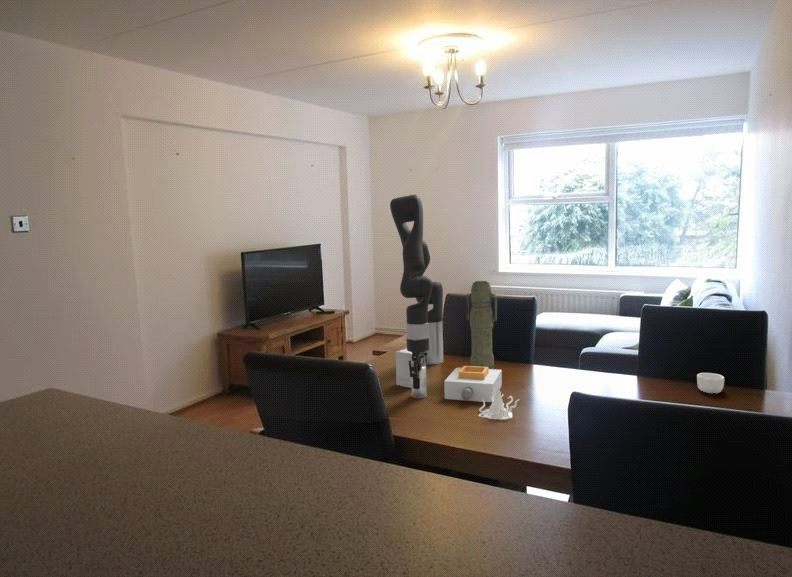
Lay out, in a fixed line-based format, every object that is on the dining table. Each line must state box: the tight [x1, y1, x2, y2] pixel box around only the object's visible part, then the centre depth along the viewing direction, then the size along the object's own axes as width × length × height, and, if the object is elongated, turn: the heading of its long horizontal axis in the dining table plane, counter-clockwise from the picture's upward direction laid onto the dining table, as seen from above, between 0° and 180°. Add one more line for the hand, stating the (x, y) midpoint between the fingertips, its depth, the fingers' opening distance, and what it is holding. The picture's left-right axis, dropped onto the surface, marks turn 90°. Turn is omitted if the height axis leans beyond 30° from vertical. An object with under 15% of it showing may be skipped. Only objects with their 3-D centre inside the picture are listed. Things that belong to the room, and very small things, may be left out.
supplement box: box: [395, 347, 412, 389], centre depth 198 cm, size 7×7×13 cm
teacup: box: [696, 372, 725, 394], centre depth 180 cm, size 10×8×5 cm
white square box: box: [443, 365, 503, 403], centre depth 185 cm, size 22×16×8 cm
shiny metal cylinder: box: [411, 366, 428, 399], centre depth 184 cm, size 5×5×10 cm
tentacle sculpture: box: [478, 386, 521, 421], centre depth 164 cm, size 9×12×9 cm
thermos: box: [464, 280, 498, 369], centre depth 211 cm, size 9×12×35 cm
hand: (418, 386), depth 184 cm, fingers closed on shiny metal cylinder, 5 cm apart
